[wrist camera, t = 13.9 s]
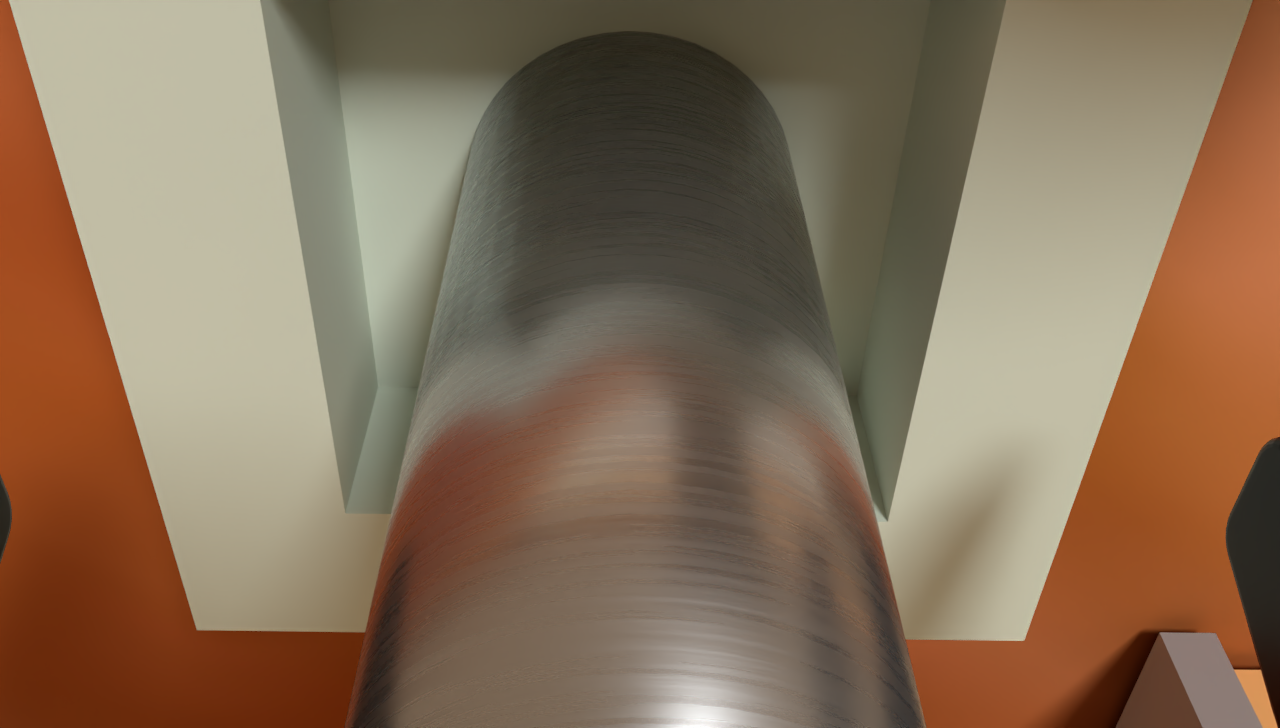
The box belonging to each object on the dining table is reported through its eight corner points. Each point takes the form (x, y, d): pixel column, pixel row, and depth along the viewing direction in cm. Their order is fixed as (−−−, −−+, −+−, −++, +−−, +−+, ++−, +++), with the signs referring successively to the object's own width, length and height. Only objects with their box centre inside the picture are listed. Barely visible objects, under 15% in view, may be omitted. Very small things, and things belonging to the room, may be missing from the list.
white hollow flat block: (1196, -337, 10) (1353, -279, 8) (969, 477, 15) (1024, 641, 13) (68, -378, 9) (-90, -330, 7) (255, 465, 15) (197, 630, 13)
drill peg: (848, 102, 11) (1239, 1231, 4) (711, 353, 13) (818, 1437, 6) (528, -21, 10) (326, 1097, 3) (429, 262, 12) (162, 1382, 5)
